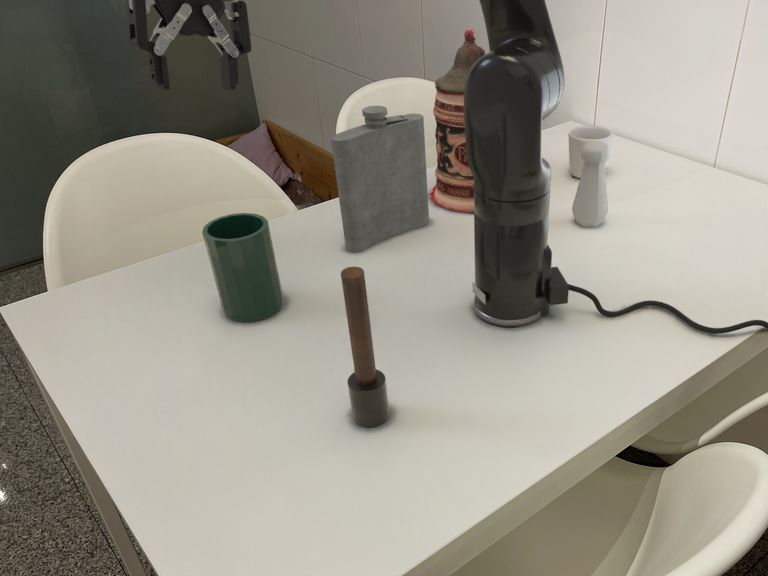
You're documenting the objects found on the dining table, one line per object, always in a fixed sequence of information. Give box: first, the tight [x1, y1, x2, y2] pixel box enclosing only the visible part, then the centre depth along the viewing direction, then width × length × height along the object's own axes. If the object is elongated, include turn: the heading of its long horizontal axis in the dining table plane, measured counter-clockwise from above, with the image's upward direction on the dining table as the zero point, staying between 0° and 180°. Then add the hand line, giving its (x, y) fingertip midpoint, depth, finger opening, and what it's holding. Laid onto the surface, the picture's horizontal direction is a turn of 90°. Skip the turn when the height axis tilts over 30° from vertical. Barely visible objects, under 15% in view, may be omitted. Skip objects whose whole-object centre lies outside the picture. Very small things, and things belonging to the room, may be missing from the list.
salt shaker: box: [571, 142, 610, 228], centre depth 111 cm, size 6×6×13 cm
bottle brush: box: [340, 266, 390, 428], centre depth 71 cm, size 4×4×18 cm
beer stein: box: [428, 29, 486, 214], centre depth 117 cm, size 17×28×18 cm
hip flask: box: [330, 105, 430, 253], centre depth 107 cm, size 16×4×20 cm, turn 132°
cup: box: [567, 125, 614, 179], centre depth 128 cm, size 11×8×8 cm
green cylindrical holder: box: [201, 212, 285, 323], centre depth 92 cm, size 8×8×12 cm
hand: (197, 89), depth 87 cm, fingers open, 8 cm apart
